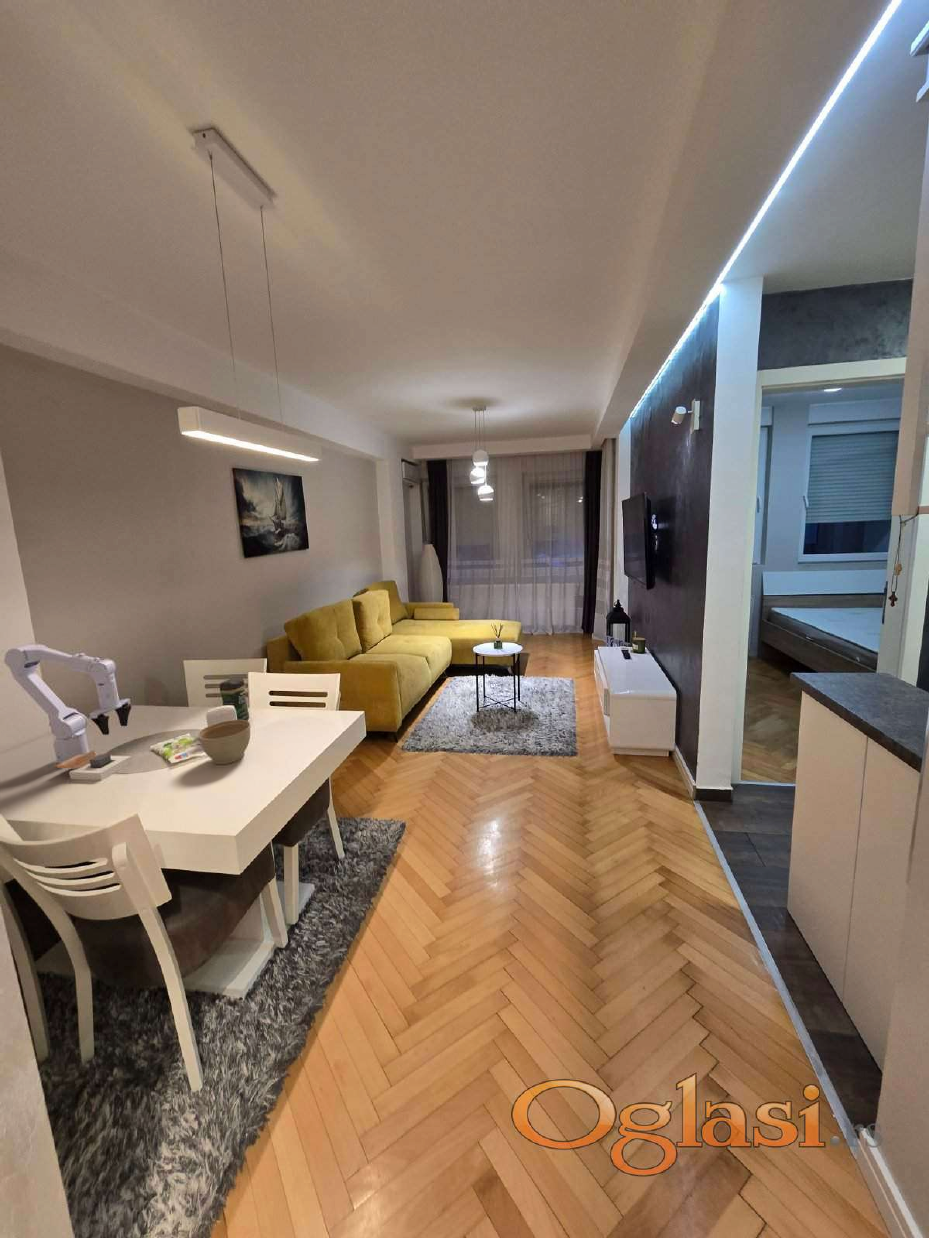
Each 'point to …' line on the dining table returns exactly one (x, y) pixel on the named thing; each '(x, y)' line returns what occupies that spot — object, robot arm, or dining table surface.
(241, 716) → the coffee jar
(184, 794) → the dining table surface
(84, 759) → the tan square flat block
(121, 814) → the dining table surface
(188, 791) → the dining table surface
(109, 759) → the grey block
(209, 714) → the white rounded block
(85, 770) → the socket
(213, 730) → the planter bowl
